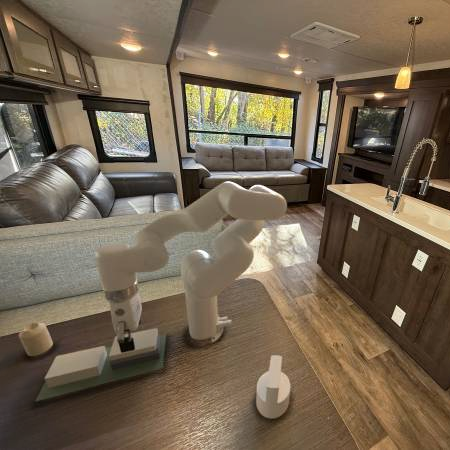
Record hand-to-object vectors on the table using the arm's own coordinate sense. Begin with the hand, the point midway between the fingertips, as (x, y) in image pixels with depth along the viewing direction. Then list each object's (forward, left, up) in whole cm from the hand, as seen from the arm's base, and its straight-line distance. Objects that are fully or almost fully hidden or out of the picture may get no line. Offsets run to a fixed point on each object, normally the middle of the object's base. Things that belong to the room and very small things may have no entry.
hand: (131, 336), depth 71 cm
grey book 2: (0, 0, -8) cm, 8 cm away
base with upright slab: (-35, +25, -10) cm, 44 cm away
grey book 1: (0, 0, -6) cm, 6 cm away
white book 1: (+14, 0, -6) cm, 15 cm away
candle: (+27, -12, -10) cm, 31 cm away
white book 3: (0, 0, -4) cm, 4 cm away
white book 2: (+14, 0, -8) cm, 16 cm away
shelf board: (+7, 0, -10) cm, 12 cm away
